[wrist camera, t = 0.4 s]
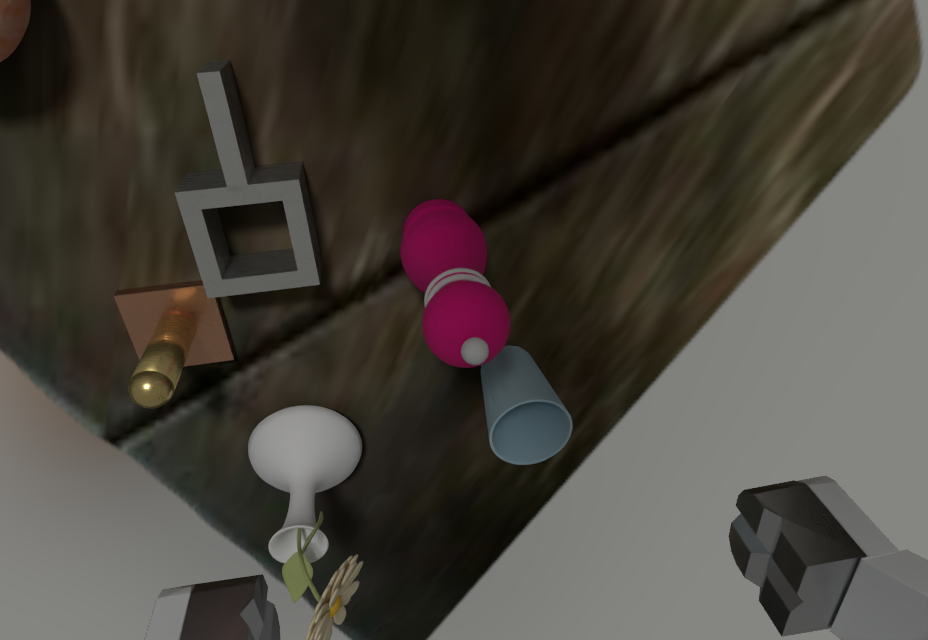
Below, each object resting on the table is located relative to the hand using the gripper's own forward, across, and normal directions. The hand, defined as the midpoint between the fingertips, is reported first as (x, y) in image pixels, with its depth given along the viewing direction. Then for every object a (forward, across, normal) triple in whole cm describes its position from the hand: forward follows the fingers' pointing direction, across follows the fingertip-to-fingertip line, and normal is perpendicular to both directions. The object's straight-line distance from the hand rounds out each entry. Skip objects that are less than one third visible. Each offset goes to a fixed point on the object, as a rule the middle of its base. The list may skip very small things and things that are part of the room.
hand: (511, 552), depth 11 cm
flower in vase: (+45, +12, +35) cm, 58 cm away
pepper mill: (+45, -3, +14) cm, 47 cm away
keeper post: (+45, +21, +20) cm, 53 cm away
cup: (+45, -9, +30) cm, 55 cm away
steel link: (+45, +12, +7) cm, 47 cm away
